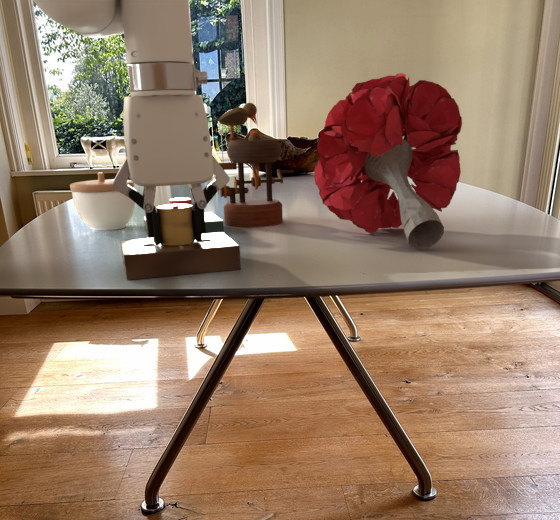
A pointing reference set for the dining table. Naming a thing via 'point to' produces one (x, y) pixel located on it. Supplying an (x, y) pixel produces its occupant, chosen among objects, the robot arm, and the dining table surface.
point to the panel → (179, 257)
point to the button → (181, 201)
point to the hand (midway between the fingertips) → (177, 239)
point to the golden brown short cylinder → (176, 224)
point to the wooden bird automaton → (254, 152)
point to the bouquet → (391, 157)
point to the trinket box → (102, 204)
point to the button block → (207, 223)
